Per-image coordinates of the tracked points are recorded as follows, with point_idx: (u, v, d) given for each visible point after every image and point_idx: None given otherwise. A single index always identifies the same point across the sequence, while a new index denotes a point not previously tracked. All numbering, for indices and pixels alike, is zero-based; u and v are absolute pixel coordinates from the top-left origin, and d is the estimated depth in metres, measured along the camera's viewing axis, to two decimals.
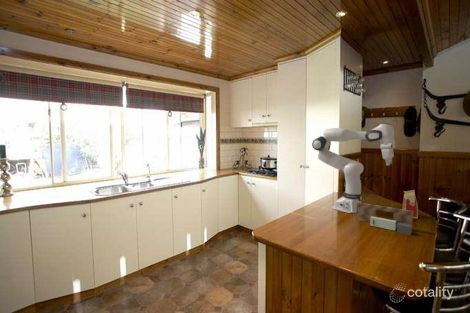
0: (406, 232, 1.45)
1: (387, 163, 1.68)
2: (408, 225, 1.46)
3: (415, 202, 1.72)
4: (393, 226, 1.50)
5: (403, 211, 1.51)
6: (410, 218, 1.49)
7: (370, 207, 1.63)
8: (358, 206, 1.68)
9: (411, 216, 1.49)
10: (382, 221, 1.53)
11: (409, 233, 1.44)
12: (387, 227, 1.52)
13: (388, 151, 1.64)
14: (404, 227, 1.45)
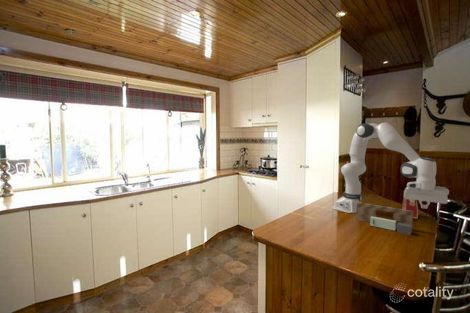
0: (406, 232, 1.45)
1: (421, 205, 1.41)
2: (408, 225, 1.46)
3: (415, 202, 1.72)
4: (393, 226, 1.50)
5: (403, 211, 1.51)
6: (410, 218, 1.49)
7: (370, 207, 1.63)
8: (358, 206, 1.68)
9: (411, 216, 1.49)
10: (382, 221, 1.53)
11: (409, 233, 1.44)
12: (387, 227, 1.52)
13: (405, 189, 1.44)
14: (404, 227, 1.45)
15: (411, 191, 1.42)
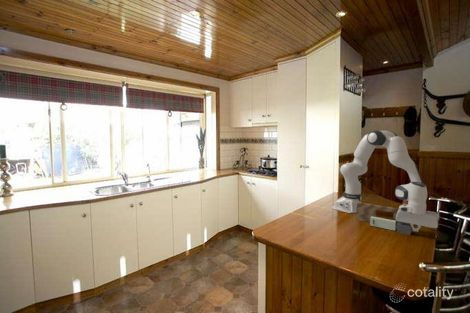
0: (406, 232, 1.45)
1: None
2: (408, 225, 1.46)
3: None
4: (393, 226, 1.50)
5: None
6: None
7: (370, 207, 1.63)
8: (358, 206, 1.68)
9: None
10: (382, 221, 1.53)
11: (409, 233, 1.44)
12: (387, 227, 1.52)
13: (397, 212, 1.48)
14: (404, 227, 1.45)
15: (403, 214, 1.46)
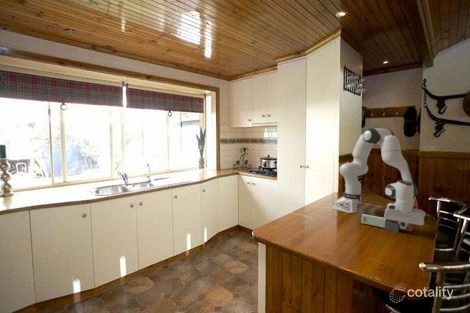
0: (394, 229, 1.49)
1: (400, 226, 1.49)
2: (396, 222, 1.50)
3: (415, 202, 1.72)
4: (383, 223, 1.53)
5: None
6: None
7: (370, 207, 1.63)
8: (358, 206, 1.68)
9: None
10: (373, 218, 1.57)
11: (396, 230, 1.48)
12: (377, 224, 1.55)
13: (385, 210, 1.52)
14: (392, 224, 1.49)
15: (391, 212, 1.50)
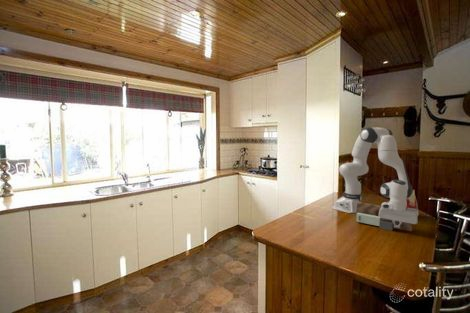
0: (388, 228, 1.51)
1: (394, 224, 1.51)
2: (390, 221, 1.52)
3: (415, 202, 1.72)
4: (378, 222, 1.55)
5: None
6: None
7: (370, 207, 1.63)
8: (358, 206, 1.68)
9: None
10: (367, 217, 1.59)
11: (391, 229, 1.50)
12: (372, 223, 1.57)
13: None
14: (386, 223, 1.51)
15: (385, 211, 1.52)
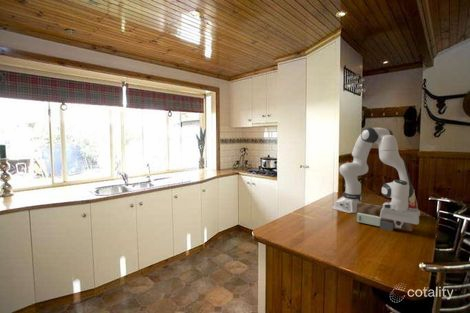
0: (388, 228, 1.51)
1: None
2: (390, 222, 1.52)
3: (415, 202, 1.72)
4: (378, 222, 1.55)
5: None
6: None
7: (370, 207, 1.63)
8: (358, 206, 1.68)
9: None
10: (368, 217, 1.59)
11: (391, 229, 1.50)
12: (372, 223, 1.57)
13: (381, 209, 1.53)
14: (386, 223, 1.51)
15: (387, 211, 1.51)
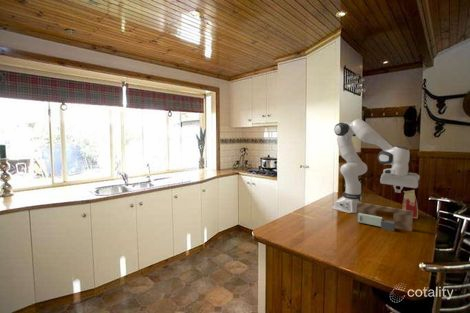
0: (389, 229, 1.50)
1: (395, 190, 1.54)
2: (391, 222, 1.51)
3: (415, 202, 1.72)
4: (379, 222, 1.55)
5: (403, 211, 1.51)
6: (410, 218, 1.49)
7: (370, 207, 1.63)
8: (358, 206, 1.68)
9: (411, 216, 1.49)
10: (369, 217, 1.58)
11: (392, 229, 1.49)
12: (373, 223, 1.57)
13: None
14: (387, 224, 1.51)
15: (387, 177, 1.55)
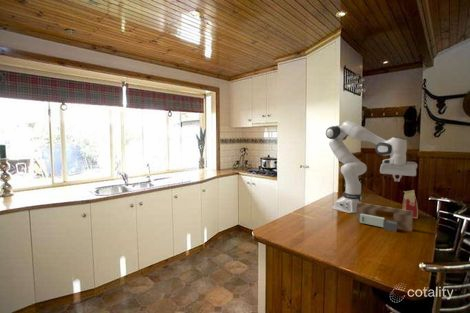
0: (392, 229, 1.50)
1: (394, 179, 1.61)
2: (394, 222, 1.51)
3: (415, 202, 1.72)
4: (381, 223, 1.54)
5: (403, 211, 1.51)
6: (410, 218, 1.49)
7: (370, 207, 1.63)
8: (358, 206, 1.68)
9: (411, 216, 1.49)
10: (371, 218, 1.58)
11: (395, 230, 1.49)
12: (376, 224, 1.56)
13: (381, 165, 1.64)
14: (390, 224, 1.50)
15: (386, 167, 1.62)
